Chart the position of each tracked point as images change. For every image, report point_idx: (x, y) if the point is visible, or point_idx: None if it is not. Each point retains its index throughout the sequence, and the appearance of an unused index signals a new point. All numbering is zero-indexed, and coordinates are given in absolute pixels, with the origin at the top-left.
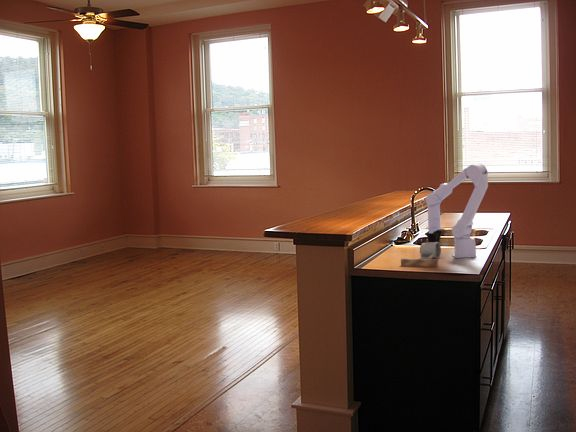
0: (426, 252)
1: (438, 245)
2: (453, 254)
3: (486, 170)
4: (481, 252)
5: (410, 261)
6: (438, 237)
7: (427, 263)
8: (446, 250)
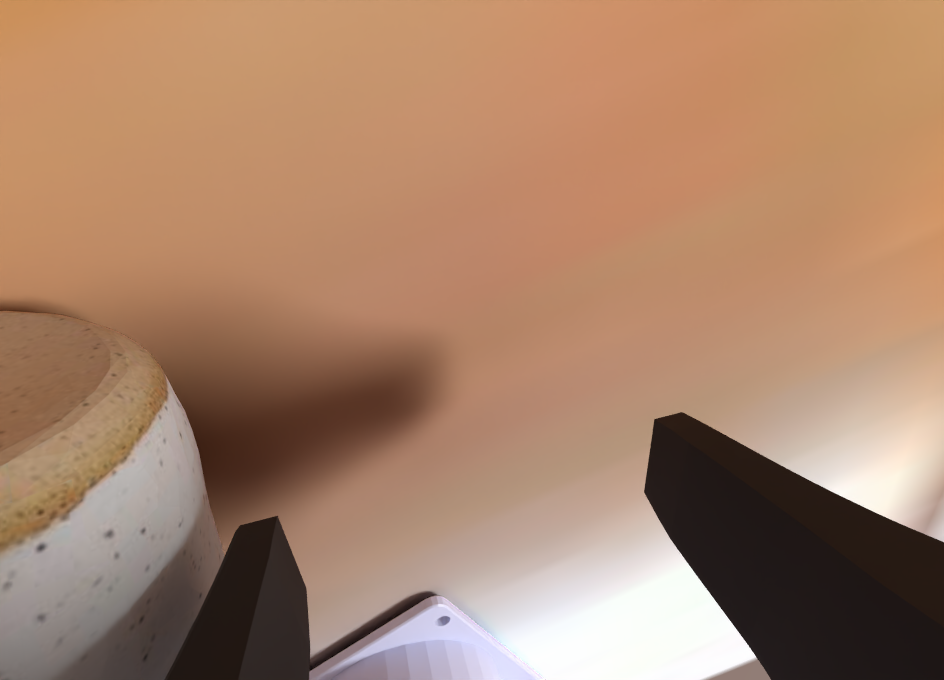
0: None
1: None
2: (438, 616)
3: None
4: (690, 658)
5: None
6: (792, 671)
7: None
8: (869, 340)
